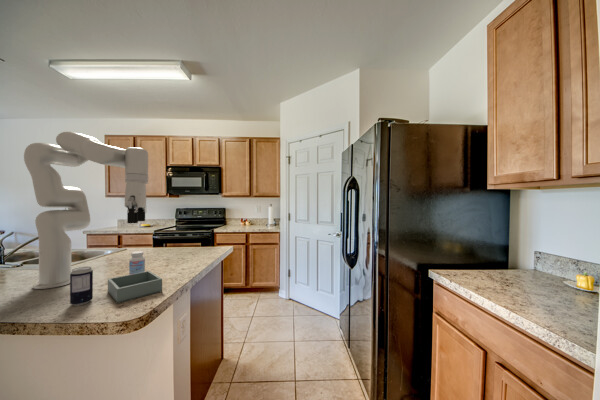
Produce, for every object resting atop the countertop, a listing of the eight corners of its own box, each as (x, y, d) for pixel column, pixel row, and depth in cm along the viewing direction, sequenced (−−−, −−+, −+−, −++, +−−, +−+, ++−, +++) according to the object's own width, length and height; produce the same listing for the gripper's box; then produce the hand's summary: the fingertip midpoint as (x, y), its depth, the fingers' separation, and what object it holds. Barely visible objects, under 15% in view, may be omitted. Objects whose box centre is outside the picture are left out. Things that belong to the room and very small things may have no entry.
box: (107, 291, 90) (107, 278, 90) (149, 282, 100) (149, 270, 100) (117, 303, 79) (117, 289, 79) (162, 291, 90) (162, 278, 90)
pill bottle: (127, 279, 105) (128, 254, 105) (130, 275, 110) (130, 251, 110) (143, 277, 107) (144, 252, 107) (145, 273, 113) (145, 250, 113)
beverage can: (97, 299, 82) (97, 266, 82) (80, 307, 77) (80, 271, 77) (82, 299, 83) (82, 266, 83) (65, 306, 77) (65, 270, 77)
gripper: (132, 180, 99) (132, 220, 98) (116, 176, 82) (116, 224, 82) (153, 181, 101) (153, 220, 101) (141, 177, 85) (141, 223, 85)
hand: (136, 222), depth 92 cm, fingers open, 9 cm apart
